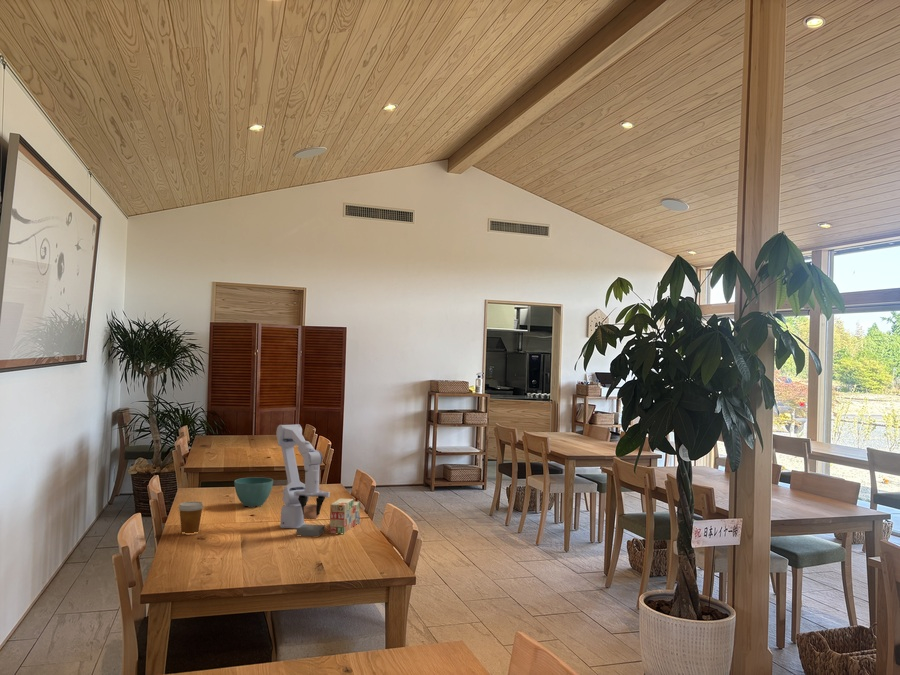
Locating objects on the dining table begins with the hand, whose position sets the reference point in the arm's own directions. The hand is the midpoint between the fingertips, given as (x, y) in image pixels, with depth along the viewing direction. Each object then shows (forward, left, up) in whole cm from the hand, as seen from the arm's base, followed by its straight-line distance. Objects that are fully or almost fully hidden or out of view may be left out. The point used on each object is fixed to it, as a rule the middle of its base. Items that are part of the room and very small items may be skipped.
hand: (311, 514), depth 275 cm
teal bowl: (-43, +49, -8) cm, 66 cm away
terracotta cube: (0, 0, -1) cm, 1 cm away
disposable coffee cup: (-48, -7, -8) cm, 49 cm away
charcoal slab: (0, 0, -8) cm, 8 cm away
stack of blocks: (+12, +12, -8) cm, 18 cm away
